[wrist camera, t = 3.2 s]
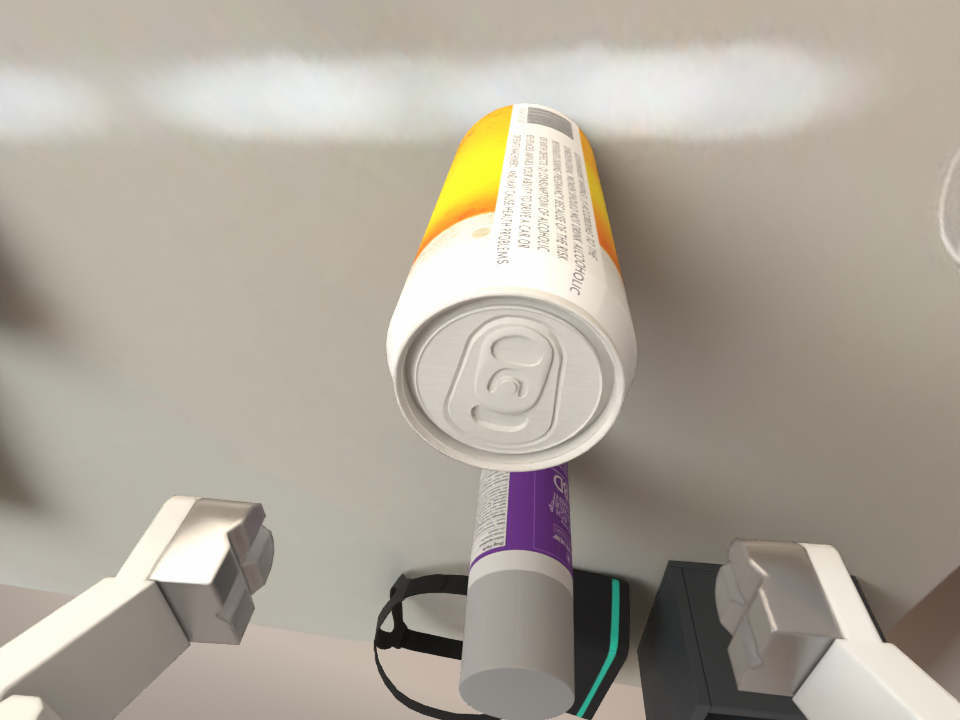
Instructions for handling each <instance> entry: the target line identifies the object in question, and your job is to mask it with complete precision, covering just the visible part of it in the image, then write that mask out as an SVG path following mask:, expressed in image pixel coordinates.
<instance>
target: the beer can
mask: <svg viewBox="0 0 960 720" xmlns="http://www.w3.org/2000/svg"><path fill="white" fill-rule="evenodd" d="M386 347H387V360H388V365H389V369H390V372H391V375H392V378H393V381H394V390H395V395H396V399H397V402H398V405H399V407H400V409H401V411H402V413H403V415H404V417H405V419H406V420H407V422H408V423H409V425H410V426H411V427H412V428H413V430H414V431H415V432H416V433H417V434H418V435H419V436H420V437H421V438H422V439H423V440H424V441H425V442H427V443H428V444H429V445H431V446H432V447H433V448H435V449H436V450H438V451H439V452H441V453H443V454H444V455H446V456H448V457H450V458H452V459H454V460H457V461H459V462H462V463H464V464H467V465H470V466H474V467H477V468H482V469H486V470H493V471H501V472H527V471H536V470H541V469H547V468H550V467H554V466H557V465H560V464H563V463H565V462H568V461H570V460H572V459H574V458H576V457H578V456H580V455H582V454H583V453H585V452H587V451H588V450H590V449H591V448H592V447H593V446H595V445H596V444H597V443H598V442H599V441H600V440H601V439H602V438H603V437H604V436H605V435H606V434H607V433H608V431H609V430H610V429H611V428H612V426H613V424H614V423H615V421H616V419H617V417H618V415H619V413H620V410H621V408H622V404H623V400H624V398H625V396H626V394H627V393H628V391H629V388H630V386H631V384H632V381H633V378H634V374H635V370H636V363H637V343H636V338H635V332H634V328H633V324H632V319H631V315H630V310H629V306H628V302H627V297H626V293H625V289H624V284H623V280H622V275H621V271H620V267H619V262H618V258H617V254H616V249H615V245H614V240H613V236H612V232H611V227H610V223H609V219H608V214H607V210H606V205H605V201H604V197H603V192H602V188H601V183H600V179H599V175H598V170H597V166H596V162H595V157H594V154H593V151H592V148H591V146H590V143H589V141H588V140H587V138H586V136H585V135H584V133H583V132H582V131H581V129H580V128H579V127H578V126H577V125H576V124H575V123H574V122H573V121H572V120H571V119H569V118H568V117H567V116H565V115H564V114H562V113H560V112H558V111H556V110H554V109H551V108H549V107H545V106H542V105H536V104H515V105H510V106H505V107H502V108H500V109H497V110H495V111H493V112H491V113H489V114H487V115H486V116H484V117H483V118H481V119H480V120H479V121H478V122H477V123H476V124H474V125H473V127H472V128H471V129H470V130H469V131H468V132H467V134H466V135H465V137H464V138H463V140H462V142H461V144H460V145H459V148H458V150H457V153H456V155H455V158H454V160H453V163H452V166H451V168H450V171H449V173H448V176H447V178H446V181H445V184H444V186H443V189H442V191H441V194H440V196H439V199H438V201H437V204H436V207H435V209H434V212H433V214H432V217H431V219H430V222H429V225H428V227H427V230H426V232H425V235H424V237H423V240H422V242H421V245H420V248H419V250H418V253H417V255H416V258H415V260H414V263H413V265H412V268H411V271H410V273H409V276H408V278H407V281H406V283H405V286H404V289H403V291H402V294H401V296H400V299H399V301H398V304H397V306H396V309H395V312H394V314H393V317H392V319H391V322H390V326H389V330H388V334H387V345H386Z"/></svg>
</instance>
